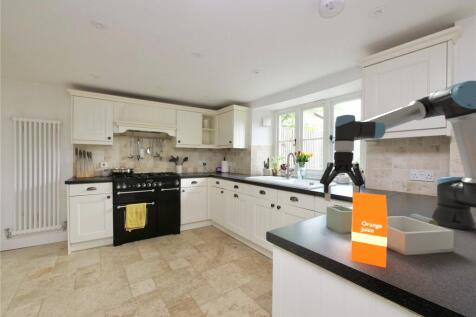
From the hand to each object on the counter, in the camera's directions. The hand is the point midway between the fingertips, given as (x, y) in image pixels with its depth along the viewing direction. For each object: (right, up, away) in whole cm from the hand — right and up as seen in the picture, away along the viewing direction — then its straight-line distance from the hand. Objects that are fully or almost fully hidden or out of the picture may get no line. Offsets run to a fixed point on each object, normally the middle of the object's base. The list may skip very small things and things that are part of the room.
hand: (341, 200), depth 92 cm
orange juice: (-5, -13, -26) cm, 30 cm away
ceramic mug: (+34, -14, -2) cm, 36 cm away
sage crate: (0, -12, 0) cm, 12 cm away
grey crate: (+17, -13, -13) cm, 25 cm away
